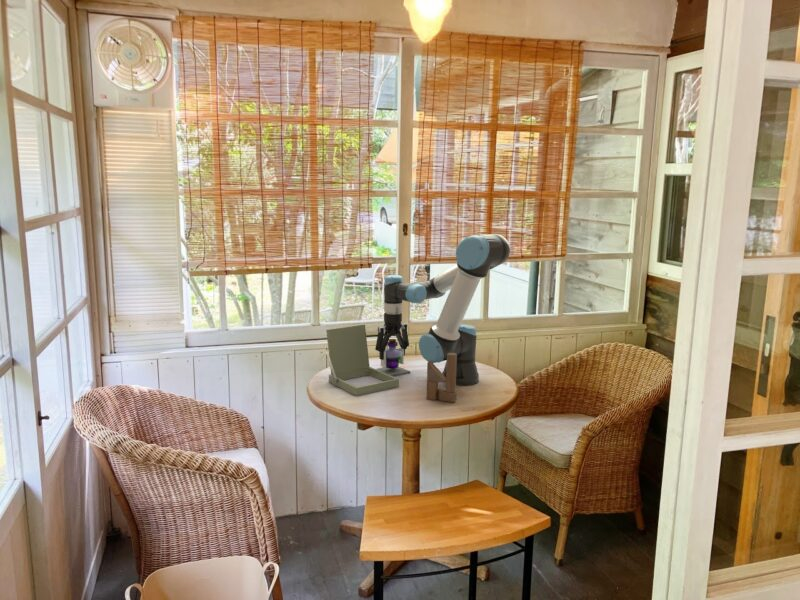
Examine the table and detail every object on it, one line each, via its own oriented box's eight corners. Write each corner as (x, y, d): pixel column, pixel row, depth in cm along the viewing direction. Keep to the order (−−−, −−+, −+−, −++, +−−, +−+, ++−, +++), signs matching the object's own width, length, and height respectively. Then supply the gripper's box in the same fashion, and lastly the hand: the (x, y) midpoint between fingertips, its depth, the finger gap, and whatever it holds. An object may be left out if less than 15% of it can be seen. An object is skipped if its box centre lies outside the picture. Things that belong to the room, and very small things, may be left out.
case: (398, 386, 246) (399, 335, 242) (354, 396, 234) (354, 342, 230) (365, 371, 265) (365, 323, 261) (322, 380, 252) (322, 330, 249)
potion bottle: (401, 370, 260) (401, 342, 258) (380, 369, 261) (380, 341, 258) (403, 364, 268) (403, 337, 266) (383, 363, 269) (383, 336, 267)
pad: (410, 373, 264) (410, 371, 264) (389, 377, 257) (389, 375, 257) (394, 366, 272) (394, 365, 272) (373, 370, 266) (373, 369, 266)
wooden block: (428, 396, 235) (430, 349, 232) (456, 400, 232) (458, 352, 229) (426, 399, 232) (427, 352, 229) (454, 403, 229) (456, 355, 225)
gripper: (407, 308, 269) (406, 359, 273) (366, 313, 257) (366, 366, 261) (418, 311, 263) (417, 363, 268) (377, 316, 251) (376, 371, 255)
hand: (392, 364), depth 264 cm, fingers closed on potion bottle, 9 cm apart
